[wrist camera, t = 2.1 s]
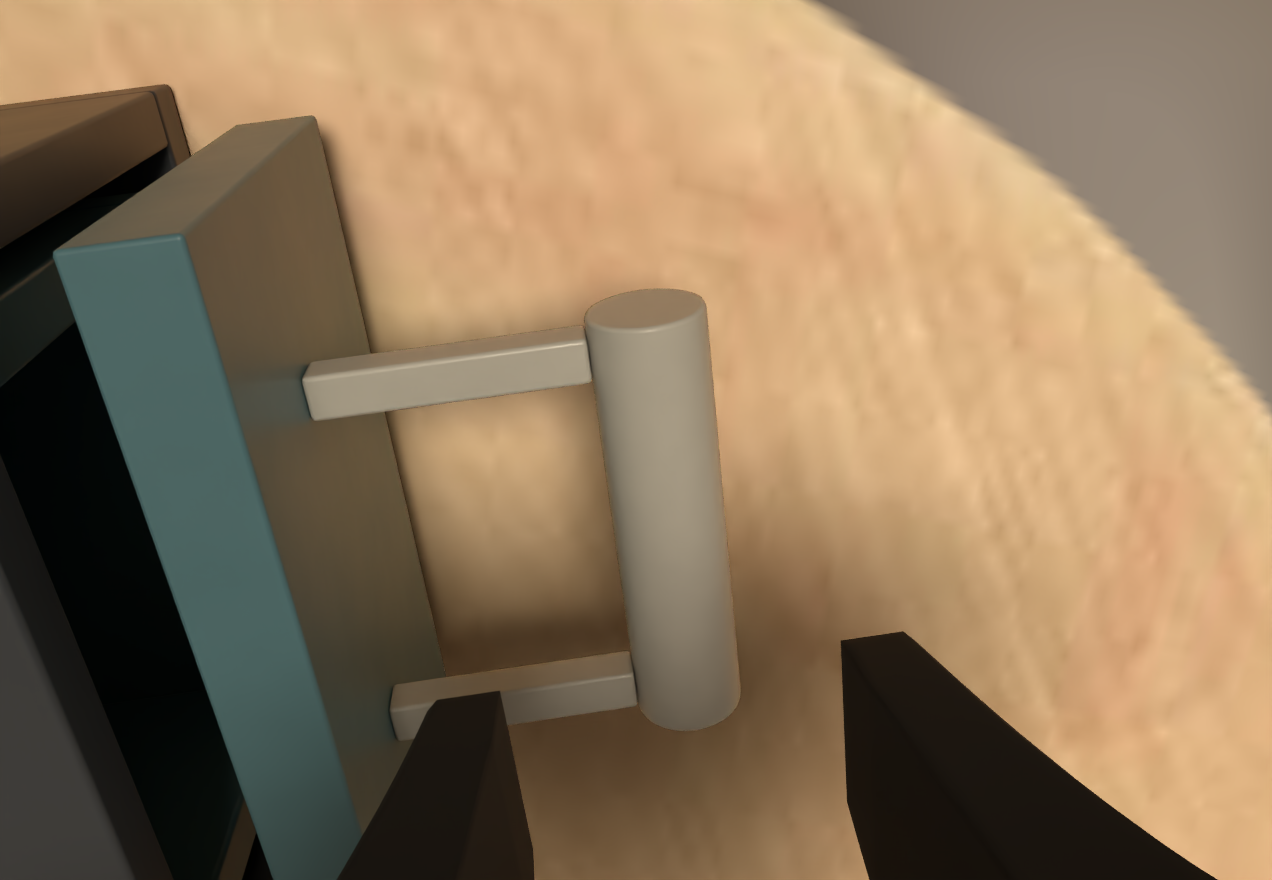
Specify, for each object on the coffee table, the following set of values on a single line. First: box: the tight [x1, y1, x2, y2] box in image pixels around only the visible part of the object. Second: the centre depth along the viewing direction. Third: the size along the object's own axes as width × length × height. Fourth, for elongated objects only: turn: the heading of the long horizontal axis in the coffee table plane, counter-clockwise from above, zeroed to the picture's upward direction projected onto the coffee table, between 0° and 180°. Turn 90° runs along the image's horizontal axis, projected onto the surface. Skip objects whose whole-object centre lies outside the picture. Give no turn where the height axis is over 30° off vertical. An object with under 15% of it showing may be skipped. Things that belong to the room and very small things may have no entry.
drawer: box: [0, 116, 741, 880], centre depth 15 cm, size 18×10×7 cm, turn 96°
